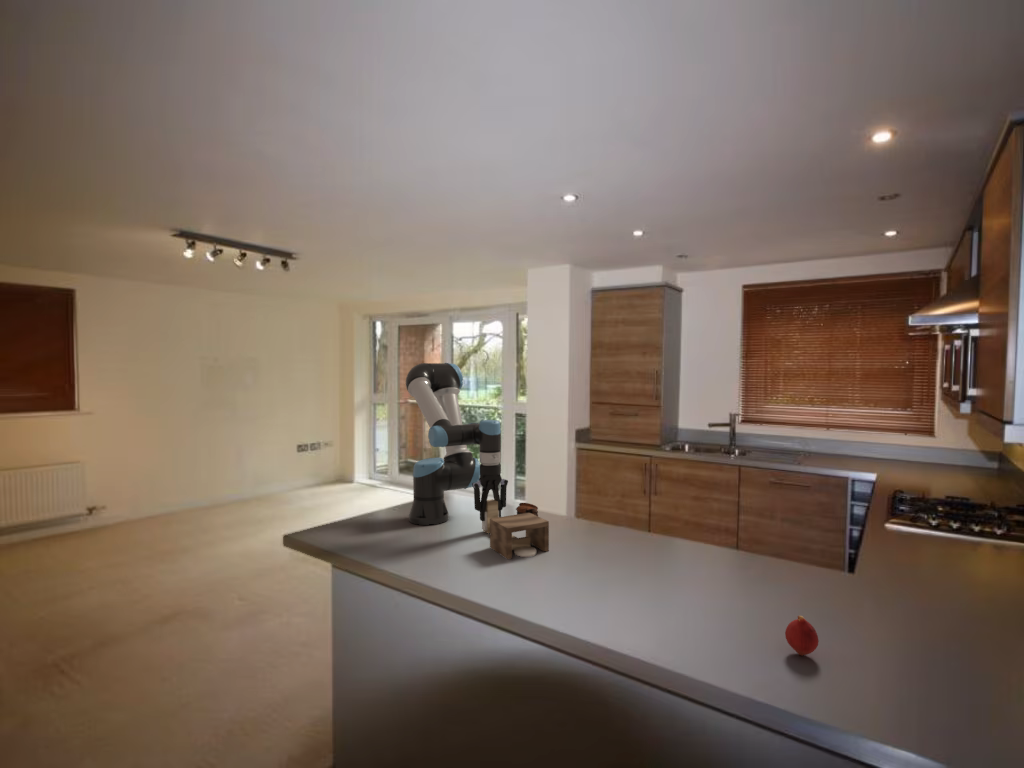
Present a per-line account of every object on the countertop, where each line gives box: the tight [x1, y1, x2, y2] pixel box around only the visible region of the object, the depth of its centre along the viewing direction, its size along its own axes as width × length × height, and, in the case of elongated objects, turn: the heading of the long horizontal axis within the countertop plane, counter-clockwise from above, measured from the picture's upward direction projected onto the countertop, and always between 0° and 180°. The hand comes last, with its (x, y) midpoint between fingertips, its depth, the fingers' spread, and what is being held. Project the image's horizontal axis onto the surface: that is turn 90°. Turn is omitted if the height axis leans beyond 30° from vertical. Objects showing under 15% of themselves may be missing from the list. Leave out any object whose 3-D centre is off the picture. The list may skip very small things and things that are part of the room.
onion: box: [784, 615, 820, 656], centre depth 105 cm, size 6×6×8 cm
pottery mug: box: [515, 502, 539, 517], centre depth 198 cm, size 12×10×8 cm
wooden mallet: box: [482, 498, 532, 551], centre depth 177 cm, size 23×8×11 cm, turn 29°
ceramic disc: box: [513, 546, 537, 558], centre depth 164 cm, size 7×7×1 cm
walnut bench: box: [489, 513, 550, 560], centre depth 167 cm, size 12×15×10 cm
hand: (490, 528), depth 185 cm, fingers closed on wooden mallet, 4 cm apart
